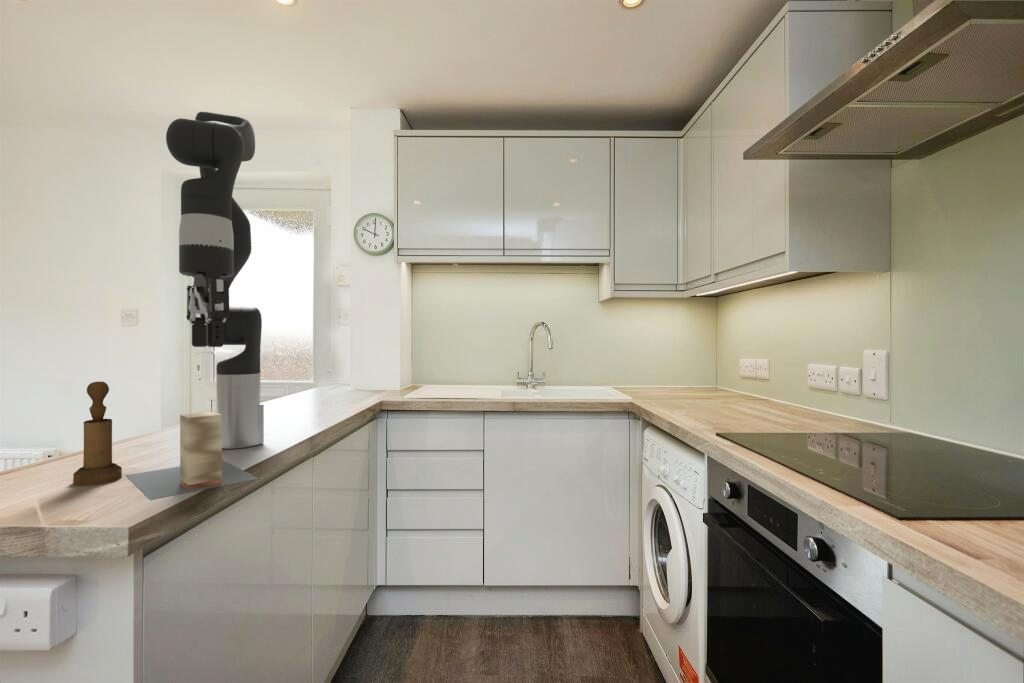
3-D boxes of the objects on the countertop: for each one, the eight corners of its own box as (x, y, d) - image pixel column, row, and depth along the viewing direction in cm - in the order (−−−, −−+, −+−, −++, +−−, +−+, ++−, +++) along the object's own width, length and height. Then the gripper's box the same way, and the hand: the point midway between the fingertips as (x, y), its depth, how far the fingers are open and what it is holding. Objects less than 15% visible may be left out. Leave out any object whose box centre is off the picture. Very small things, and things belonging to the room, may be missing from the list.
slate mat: (222, 462, 102) (222, 459, 102) (258, 481, 88) (258, 478, 88) (125, 477, 90) (125, 475, 90) (150, 503, 77) (150, 499, 77)
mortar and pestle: (93, 489, 83) (93, 383, 83) (63, 487, 85) (62, 382, 85) (131, 478, 90) (130, 380, 90) (102, 476, 91) (101, 379, 91)
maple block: (212, 477, 89) (212, 411, 89) (221, 483, 85) (221, 414, 85) (180, 483, 85) (180, 414, 85) (188, 489, 82) (188, 417, 82)
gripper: (247, 243, 77) (247, 347, 77) (219, 255, 87) (219, 346, 87) (191, 236, 72) (191, 347, 72) (168, 249, 82) (168, 346, 82)
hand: (207, 346), depth 80 cm, fingers open, 8 cm apart
